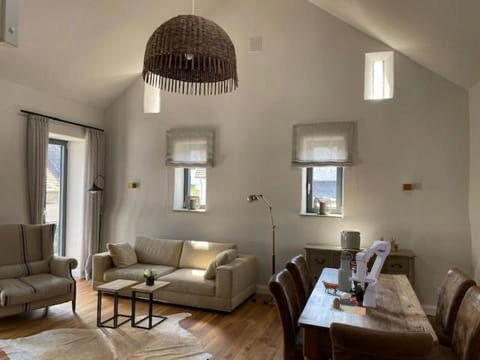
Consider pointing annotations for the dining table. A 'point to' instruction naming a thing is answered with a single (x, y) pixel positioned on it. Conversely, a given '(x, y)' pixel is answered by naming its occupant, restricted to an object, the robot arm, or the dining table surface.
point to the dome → (345, 296)
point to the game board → (350, 309)
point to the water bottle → (345, 272)
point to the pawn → (336, 303)
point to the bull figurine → (330, 286)
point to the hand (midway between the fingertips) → (360, 293)
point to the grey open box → (348, 301)
